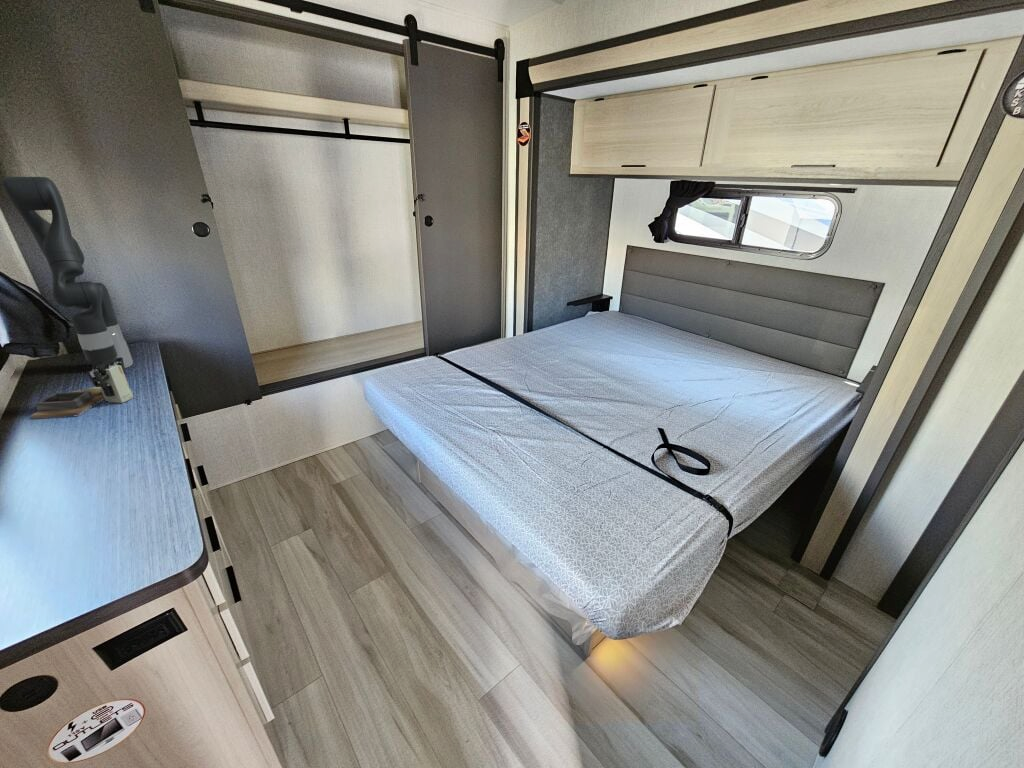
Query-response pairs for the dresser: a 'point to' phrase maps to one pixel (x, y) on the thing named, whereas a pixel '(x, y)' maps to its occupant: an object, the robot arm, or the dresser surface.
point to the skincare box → (117, 385)
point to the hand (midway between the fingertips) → (115, 392)
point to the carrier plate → (68, 403)
